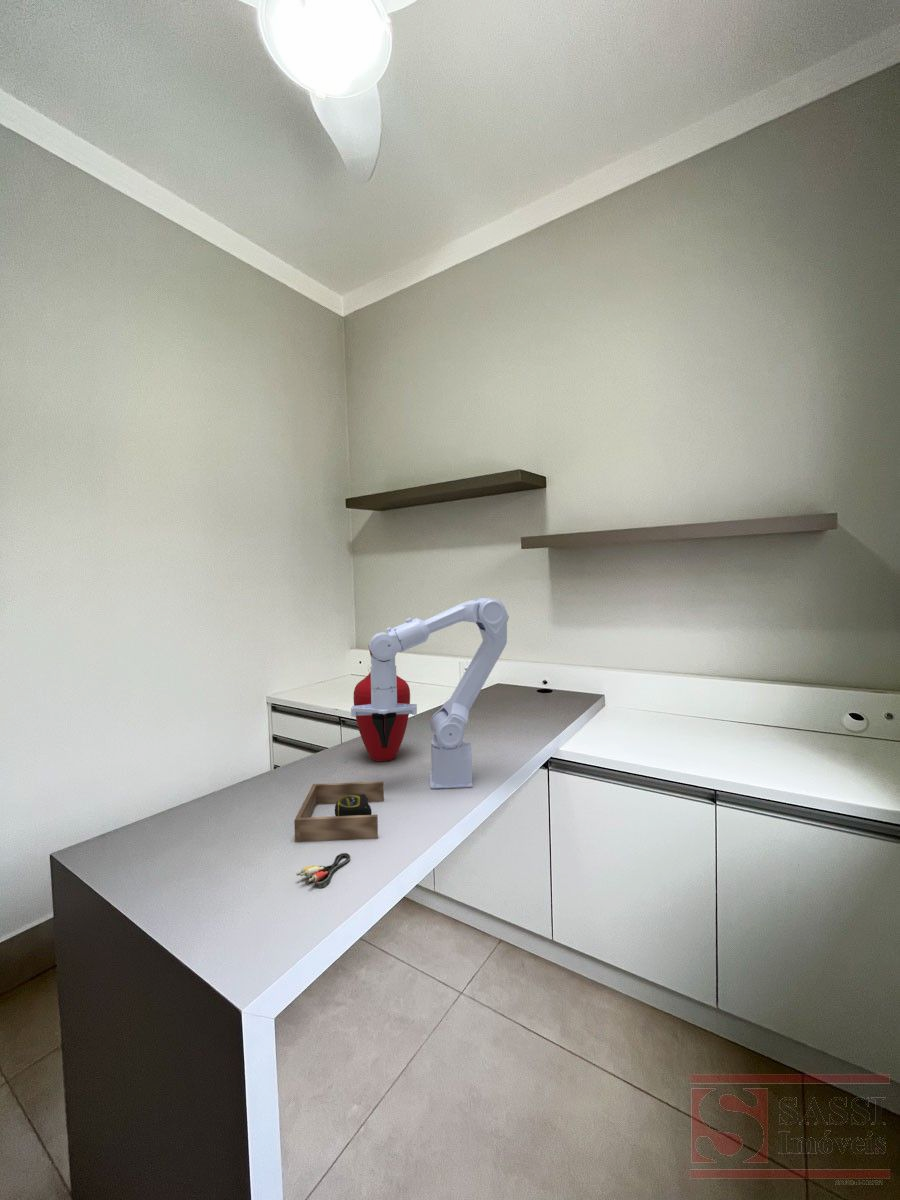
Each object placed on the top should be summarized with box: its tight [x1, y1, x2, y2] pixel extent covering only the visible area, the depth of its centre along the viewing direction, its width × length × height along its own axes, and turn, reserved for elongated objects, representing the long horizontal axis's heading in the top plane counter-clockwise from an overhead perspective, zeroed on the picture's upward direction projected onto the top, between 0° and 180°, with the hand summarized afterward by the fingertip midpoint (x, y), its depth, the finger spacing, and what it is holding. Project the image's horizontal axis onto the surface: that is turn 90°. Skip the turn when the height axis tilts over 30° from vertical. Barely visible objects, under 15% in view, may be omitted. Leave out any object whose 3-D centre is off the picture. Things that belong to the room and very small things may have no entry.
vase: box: [353, 648, 411, 762], centre depth 130 cm, size 15×15×30 cm
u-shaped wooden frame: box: [293, 781, 385, 843], centre depth 98 cm, size 15×16×4 cm
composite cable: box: [295, 852, 351, 889], centre depth 80 cm, size 10×5×2 cm, turn 142°
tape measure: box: [334, 794, 373, 816], centre depth 98 cm, size 7×7×4 cm
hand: (385, 746), depth 112 cm, fingers closed
